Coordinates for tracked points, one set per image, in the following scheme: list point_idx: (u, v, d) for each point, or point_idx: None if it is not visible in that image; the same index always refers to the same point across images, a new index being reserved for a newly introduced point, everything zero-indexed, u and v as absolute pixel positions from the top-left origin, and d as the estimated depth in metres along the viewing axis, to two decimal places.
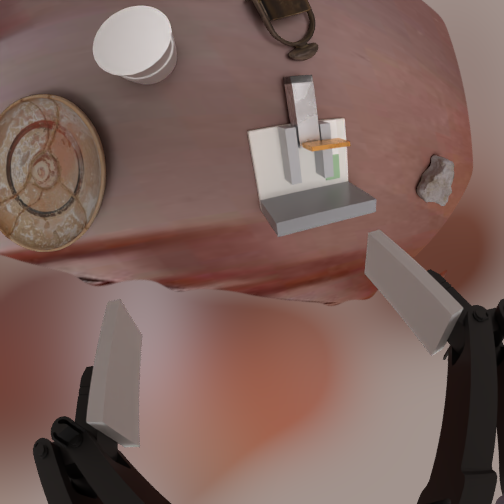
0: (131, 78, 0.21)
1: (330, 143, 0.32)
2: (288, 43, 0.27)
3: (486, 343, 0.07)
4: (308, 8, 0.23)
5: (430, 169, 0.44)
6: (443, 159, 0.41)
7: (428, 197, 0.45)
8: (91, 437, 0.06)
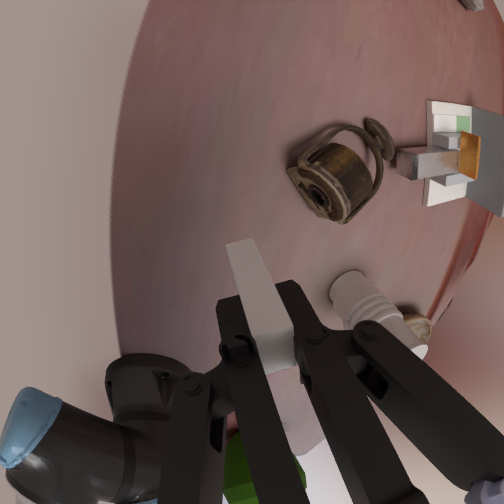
0: None
1: (474, 157, 0.23)
2: (382, 167, 0.26)
3: (336, 365, 0.08)
4: (357, 157, 0.22)
5: None
6: None
7: (481, 5, 0.14)
8: (261, 363, 0.09)
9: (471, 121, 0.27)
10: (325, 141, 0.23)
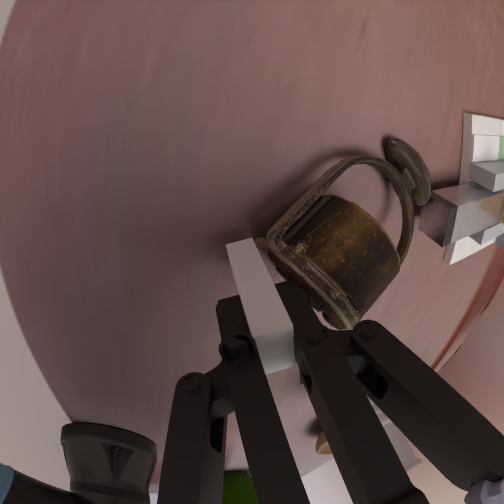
0: None
1: None
2: (413, 220, 0.16)
3: (335, 365, 0.08)
4: (377, 229, 0.12)
5: None
6: None
7: None
8: (261, 363, 0.09)
9: None
10: (317, 195, 0.13)
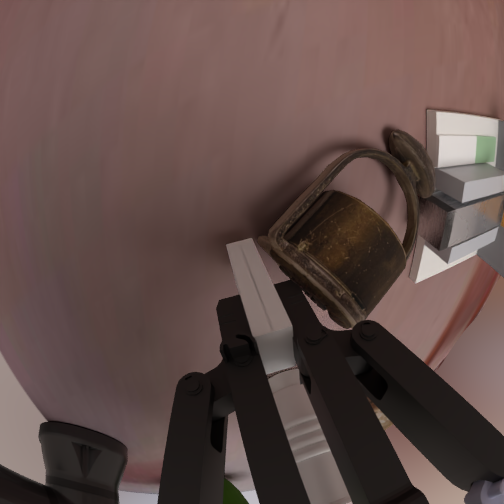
0: None
1: None
2: (418, 214, 0.15)
3: (335, 365, 0.08)
4: (381, 224, 0.11)
5: None
6: None
7: None
8: (262, 362, 0.09)
9: (497, 143, 0.16)
10: (319, 191, 0.13)
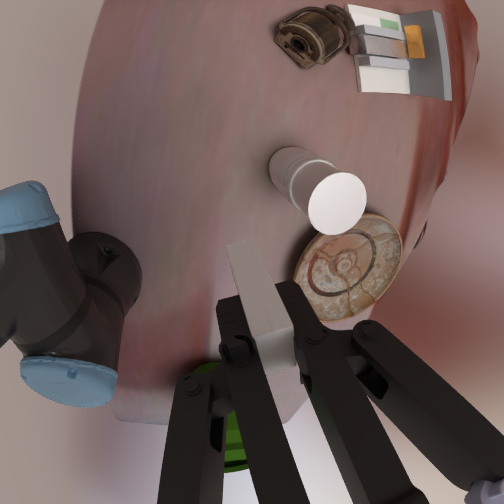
0: None
1: (418, 40, 0.24)
2: (347, 31, 0.26)
3: (336, 365, 0.08)
4: (320, 15, 0.23)
5: None
6: None
7: None
8: (261, 363, 0.09)
9: (401, 26, 0.27)
10: (296, 13, 0.24)
